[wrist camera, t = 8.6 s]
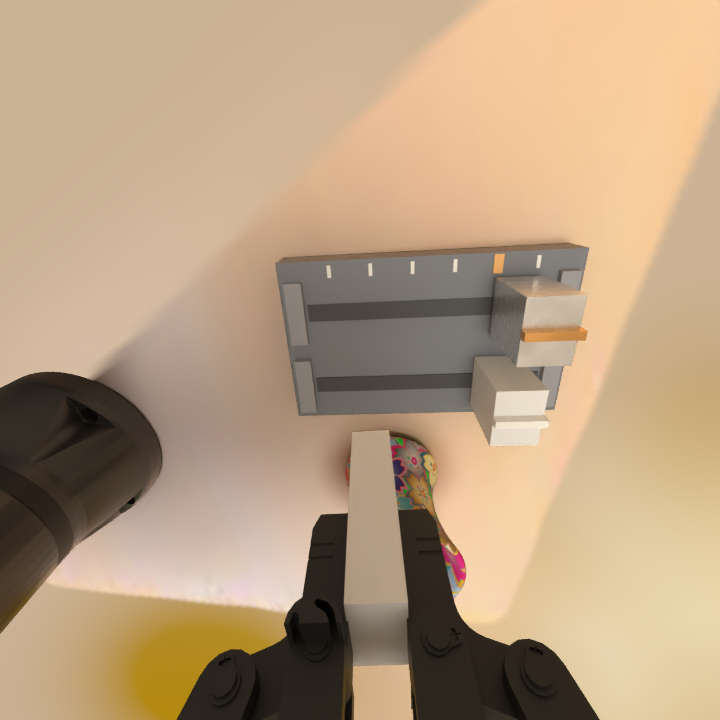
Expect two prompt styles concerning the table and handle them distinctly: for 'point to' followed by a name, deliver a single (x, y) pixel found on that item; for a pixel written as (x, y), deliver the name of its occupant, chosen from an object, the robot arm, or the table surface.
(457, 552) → the mug
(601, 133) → the table surface
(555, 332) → the fader
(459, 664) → the robot arm
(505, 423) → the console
